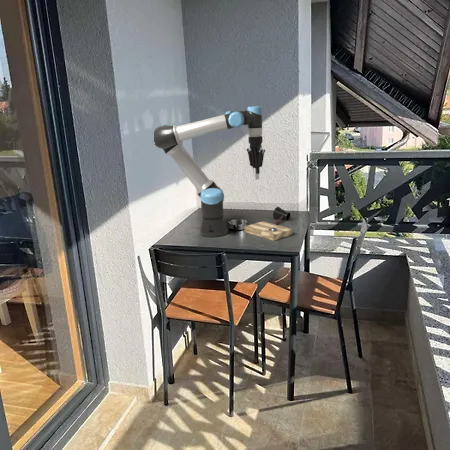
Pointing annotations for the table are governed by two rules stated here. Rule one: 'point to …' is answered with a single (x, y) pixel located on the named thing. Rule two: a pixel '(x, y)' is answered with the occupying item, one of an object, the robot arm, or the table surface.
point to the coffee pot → (280, 215)
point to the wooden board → (267, 230)
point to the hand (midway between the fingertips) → (256, 179)
